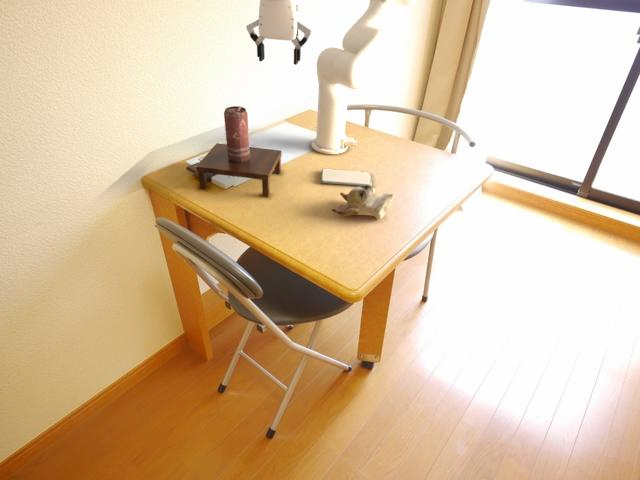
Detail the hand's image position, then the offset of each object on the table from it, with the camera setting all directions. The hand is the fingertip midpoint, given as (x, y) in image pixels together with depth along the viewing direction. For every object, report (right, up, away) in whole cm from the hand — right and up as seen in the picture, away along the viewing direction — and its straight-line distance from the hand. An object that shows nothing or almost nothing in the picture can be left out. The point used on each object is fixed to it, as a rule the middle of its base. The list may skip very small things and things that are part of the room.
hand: (278, 61), depth 112 cm
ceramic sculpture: (+22, -42, -3) cm, 48 cm away
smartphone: (+19, -31, +11) cm, 38 cm away
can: (-12, -26, +4) cm, 29 cm away
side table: (-12, -31, +8) cm, 34 cm away
